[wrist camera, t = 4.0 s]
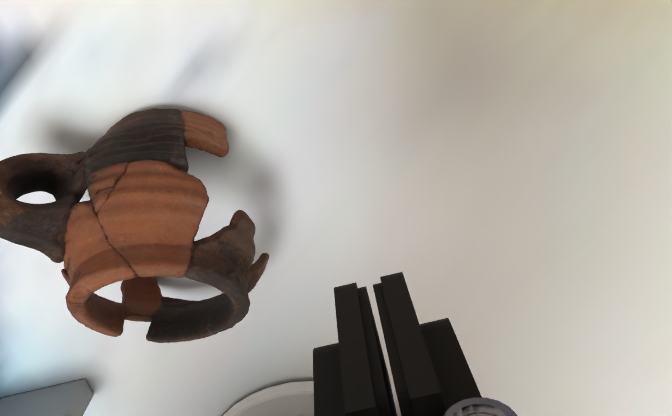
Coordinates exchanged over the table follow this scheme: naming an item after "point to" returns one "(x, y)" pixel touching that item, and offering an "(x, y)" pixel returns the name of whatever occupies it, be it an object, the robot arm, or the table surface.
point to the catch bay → (49, 401)
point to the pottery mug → (135, 226)
